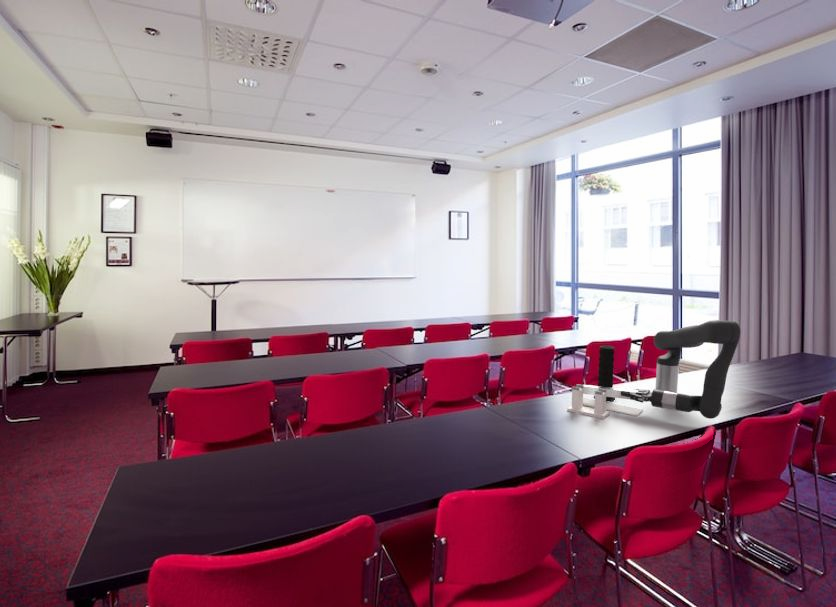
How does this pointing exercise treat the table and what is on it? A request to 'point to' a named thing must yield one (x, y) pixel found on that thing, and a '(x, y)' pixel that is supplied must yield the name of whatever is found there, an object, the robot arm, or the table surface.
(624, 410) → the mat
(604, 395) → the rack
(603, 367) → the handle grip
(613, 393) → the rail
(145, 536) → the table surface
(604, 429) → the table surface
